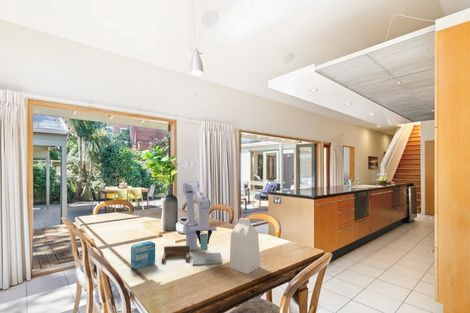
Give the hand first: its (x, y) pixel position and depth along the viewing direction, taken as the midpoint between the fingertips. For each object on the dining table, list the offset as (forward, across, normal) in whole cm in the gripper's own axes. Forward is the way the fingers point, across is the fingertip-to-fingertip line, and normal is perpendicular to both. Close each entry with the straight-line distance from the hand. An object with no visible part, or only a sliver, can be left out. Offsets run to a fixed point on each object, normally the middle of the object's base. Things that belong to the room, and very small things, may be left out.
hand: (204, 243), depth 144 cm
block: (+3, 0, 0) cm, 3 cm away
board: (+9, +2, 0) cm, 10 cm away
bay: (+9, -16, +4) cm, 19 cm away
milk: (+10, +22, -13) cm, 27 cm away
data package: (+10, -33, -4) cm, 35 cm away
